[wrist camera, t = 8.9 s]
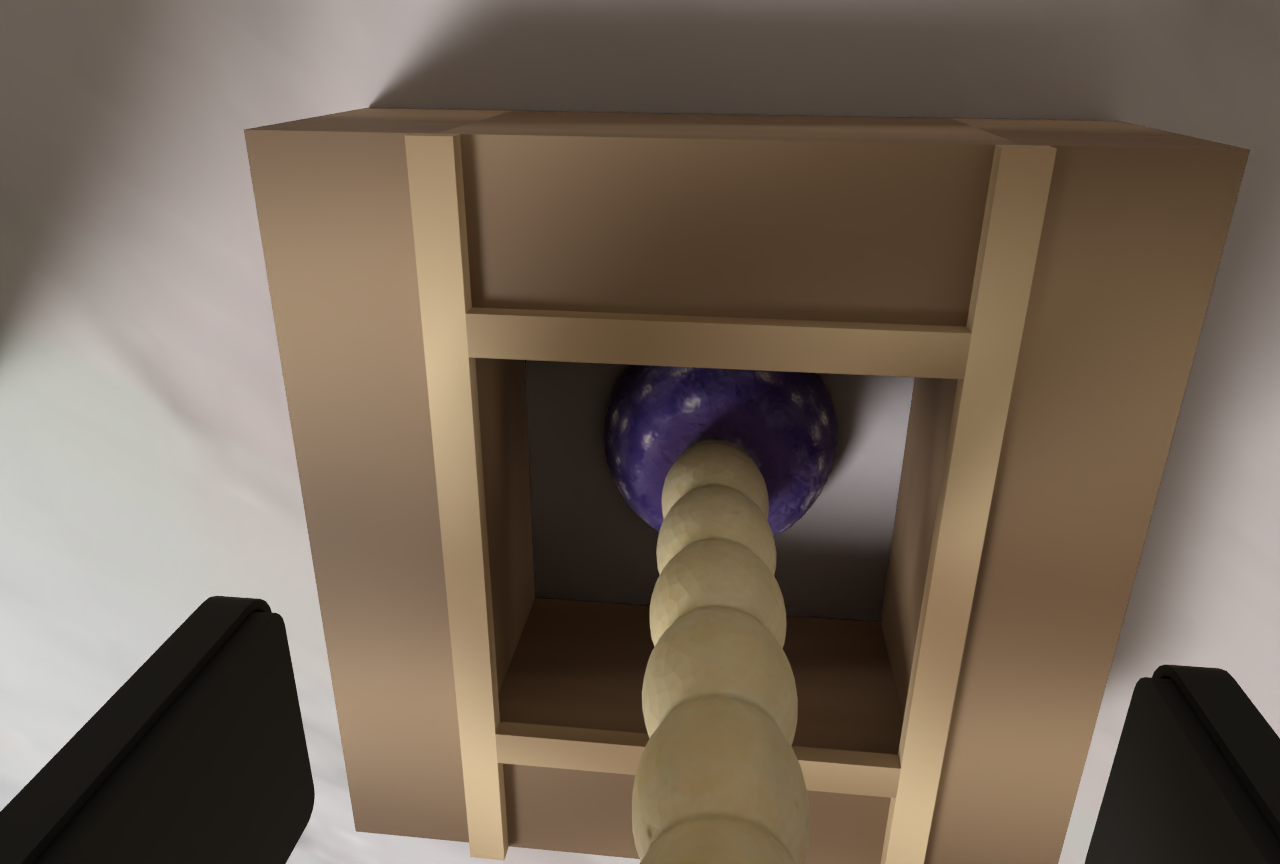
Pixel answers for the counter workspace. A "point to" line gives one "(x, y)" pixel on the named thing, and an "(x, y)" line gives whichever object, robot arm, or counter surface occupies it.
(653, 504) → the toy lamp
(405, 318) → the tan wooden square frame
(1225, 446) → the counter surface
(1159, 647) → the counter surface
